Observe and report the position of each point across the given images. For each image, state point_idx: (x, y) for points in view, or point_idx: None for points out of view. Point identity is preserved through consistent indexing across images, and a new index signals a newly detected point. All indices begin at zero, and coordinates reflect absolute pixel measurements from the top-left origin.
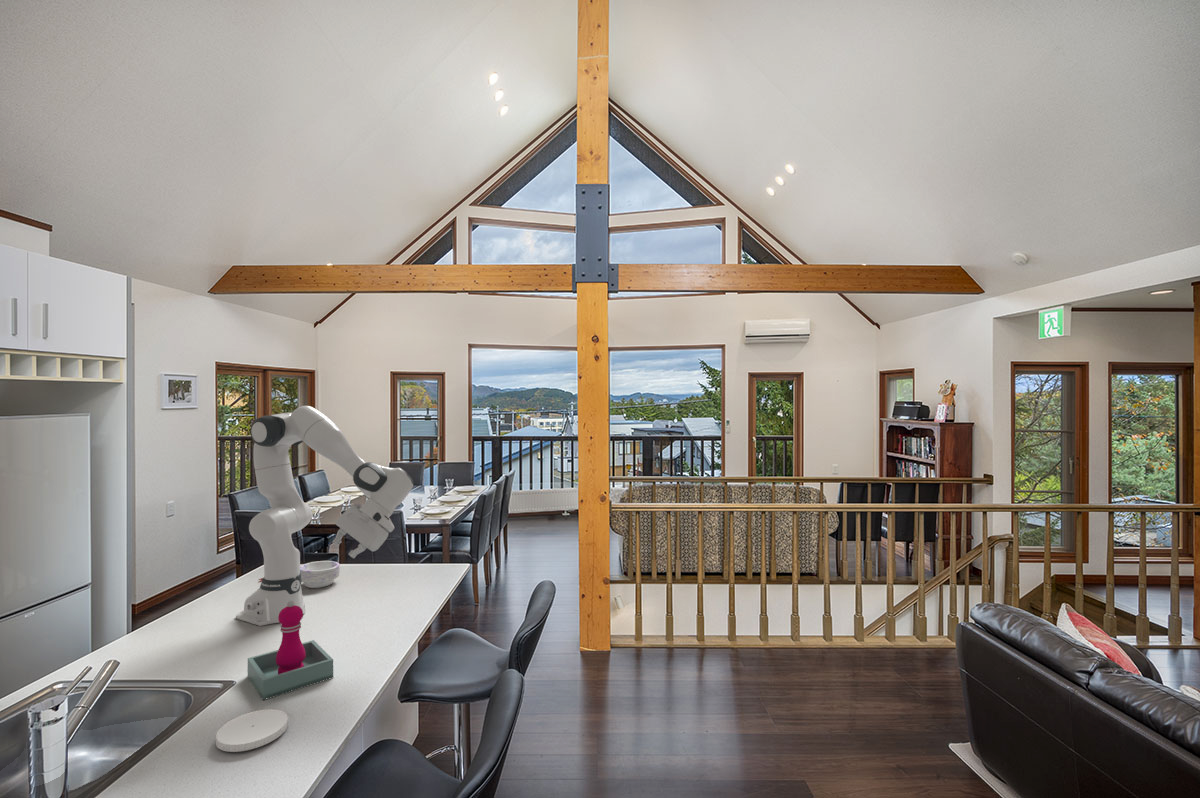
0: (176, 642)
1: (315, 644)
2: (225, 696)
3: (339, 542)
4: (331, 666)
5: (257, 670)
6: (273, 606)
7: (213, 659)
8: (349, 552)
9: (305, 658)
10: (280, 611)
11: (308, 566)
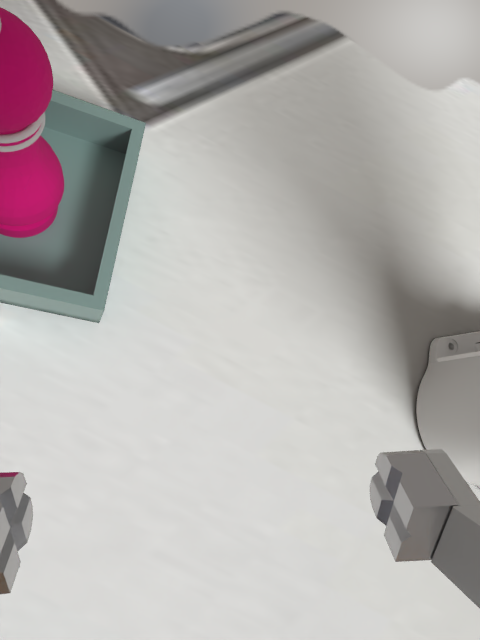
0: (459, 181)
1: (56, 292)
2: (64, 65)
3: (388, 521)
4: None
5: None
6: (470, 368)
7: (309, 170)
8: (9, 488)
9: (84, 284)
10: (14, 15)
11: None
